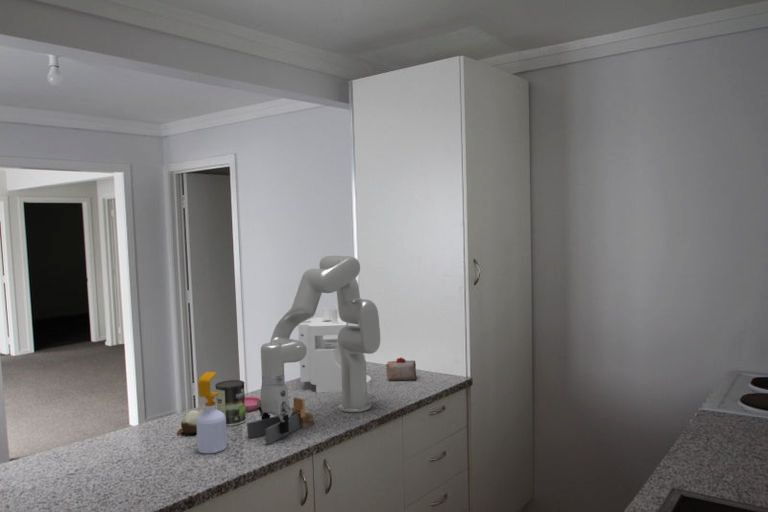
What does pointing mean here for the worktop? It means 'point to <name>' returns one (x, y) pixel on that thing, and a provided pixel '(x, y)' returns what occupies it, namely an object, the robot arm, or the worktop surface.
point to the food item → (401, 370)
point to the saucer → (251, 403)
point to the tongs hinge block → (307, 420)
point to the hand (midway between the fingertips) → (275, 429)
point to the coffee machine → (322, 351)
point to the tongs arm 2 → (274, 430)
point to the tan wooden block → (299, 406)
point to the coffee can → (231, 401)
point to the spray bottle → (210, 420)
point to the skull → (189, 424)
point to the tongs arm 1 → (262, 425)
